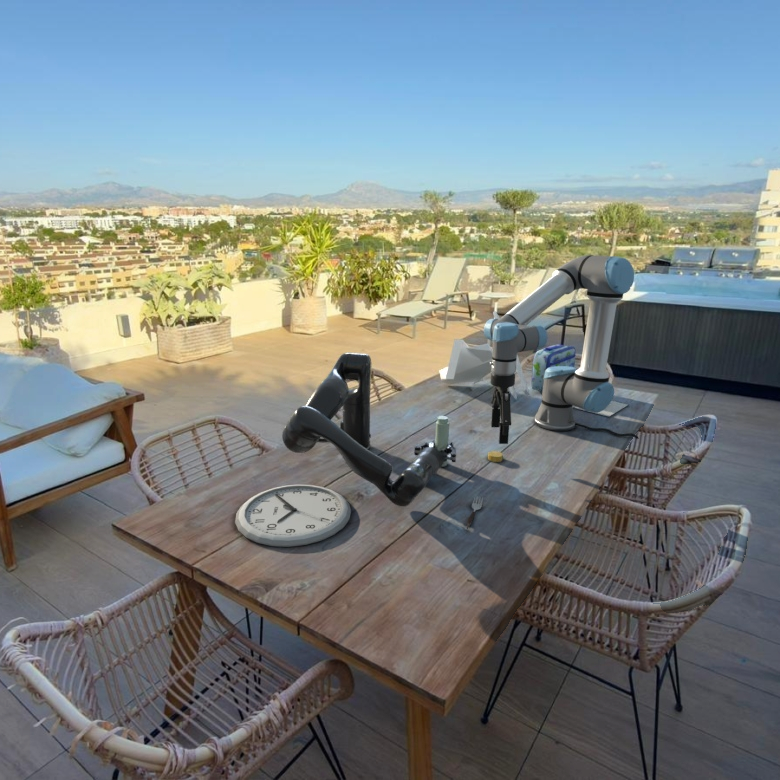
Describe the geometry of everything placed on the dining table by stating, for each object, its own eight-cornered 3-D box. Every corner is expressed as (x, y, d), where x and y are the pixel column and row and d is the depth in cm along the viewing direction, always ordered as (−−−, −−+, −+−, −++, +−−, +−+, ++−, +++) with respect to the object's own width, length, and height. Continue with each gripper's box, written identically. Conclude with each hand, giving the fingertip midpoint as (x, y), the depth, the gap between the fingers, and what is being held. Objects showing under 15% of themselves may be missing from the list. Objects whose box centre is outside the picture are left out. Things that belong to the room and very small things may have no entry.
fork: (461, 529, 132) (462, 523, 131) (474, 500, 146) (474, 494, 146) (471, 532, 131) (472, 525, 130) (483, 502, 145) (483, 495, 145)
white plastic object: (461, 429, 252) (437, 405, 227) (444, 352, 274) (420, 323, 250) (535, 404, 240) (518, 377, 215) (510, 326, 262) (492, 293, 237)
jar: (431, 462, 170) (433, 416, 165) (442, 460, 172) (444, 414, 167) (438, 467, 166) (440, 420, 161) (449, 465, 168) (452, 418, 163)
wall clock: (351, 538, 125) (223, 542, 122) (351, 544, 125) (223, 548, 123) (350, 480, 153) (246, 482, 151) (350, 485, 154) (246, 487, 151)
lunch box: (547, 397, 237) (552, 352, 231) (526, 391, 245) (531, 348, 238) (574, 386, 255) (580, 344, 249) (554, 381, 262) (559, 340, 256)
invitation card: (608, 416, 214) (573, 407, 224) (608, 416, 214) (573, 408, 224) (628, 404, 229) (594, 396, 238) (628, 405, 229) (594, 397, 238)
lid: (504, 458, 174) (505, 453, 173) (499, 463, 170) (499, 458, 170) (491, 454, 176) (491, 449, 176) (485, 459, 173) (485, 454, 172)
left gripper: (404, 470, 158) (423, 450, 173) (449, 480, 153) (464, 457, 168) (404, 448, 156) (423, 428, 171) (450, 456, 151) (466, 436, 166)
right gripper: (484, 362, 176) (481, 420, 183) (498, 384, 152) (494, 451, 159) (506, 362, 176) (503, 420, 183) (524, 384, 152) (519, 450, 159)
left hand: (444, 443), depth 169 cm, fingers closed on jar, 4 cm apart
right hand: (499, 435), depth 171 cm, fingers open, 13 cm apart
